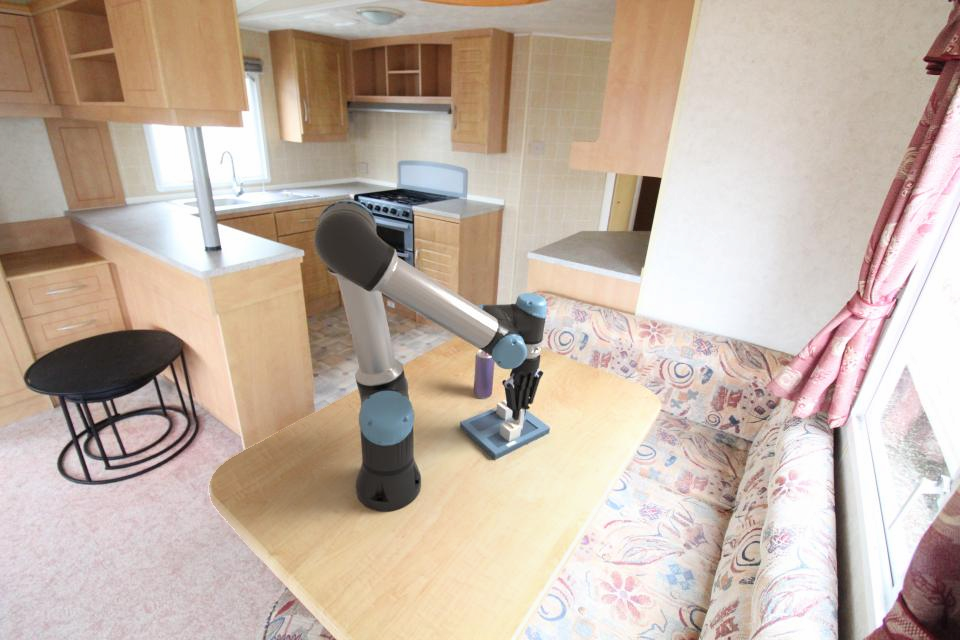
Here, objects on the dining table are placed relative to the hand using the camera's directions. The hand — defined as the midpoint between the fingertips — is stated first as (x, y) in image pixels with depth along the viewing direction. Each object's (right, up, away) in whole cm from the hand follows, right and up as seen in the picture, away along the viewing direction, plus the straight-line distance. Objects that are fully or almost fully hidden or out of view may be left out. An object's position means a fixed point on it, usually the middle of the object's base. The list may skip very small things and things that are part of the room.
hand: (517, 427), depth 129 cm
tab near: (-2, -2, -1) cm, 3 cm away
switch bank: (-3, -2, +3) cm, 5 cm away
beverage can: (-10, +6, +20) cm, 23 cm away
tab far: (-3, +2, +8) cm, 8 cm away
